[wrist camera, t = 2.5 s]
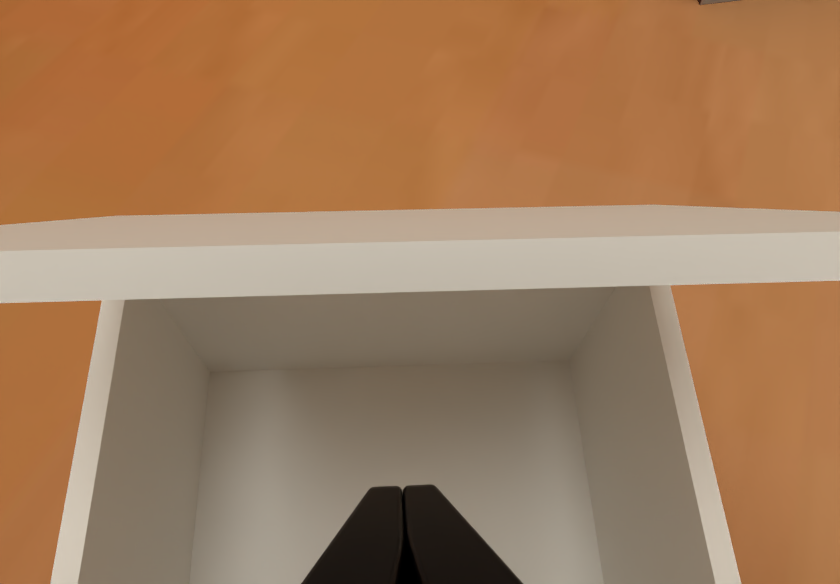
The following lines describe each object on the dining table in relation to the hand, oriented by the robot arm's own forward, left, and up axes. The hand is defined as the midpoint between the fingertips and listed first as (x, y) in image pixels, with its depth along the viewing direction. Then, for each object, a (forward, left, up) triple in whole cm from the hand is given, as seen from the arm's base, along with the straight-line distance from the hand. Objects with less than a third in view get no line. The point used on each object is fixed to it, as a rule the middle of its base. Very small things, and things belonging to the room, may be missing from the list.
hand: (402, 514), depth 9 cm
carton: (+1, -1, -13) cm, 13 cm away
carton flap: (+4, -2, 0) cm, 4 cm away
